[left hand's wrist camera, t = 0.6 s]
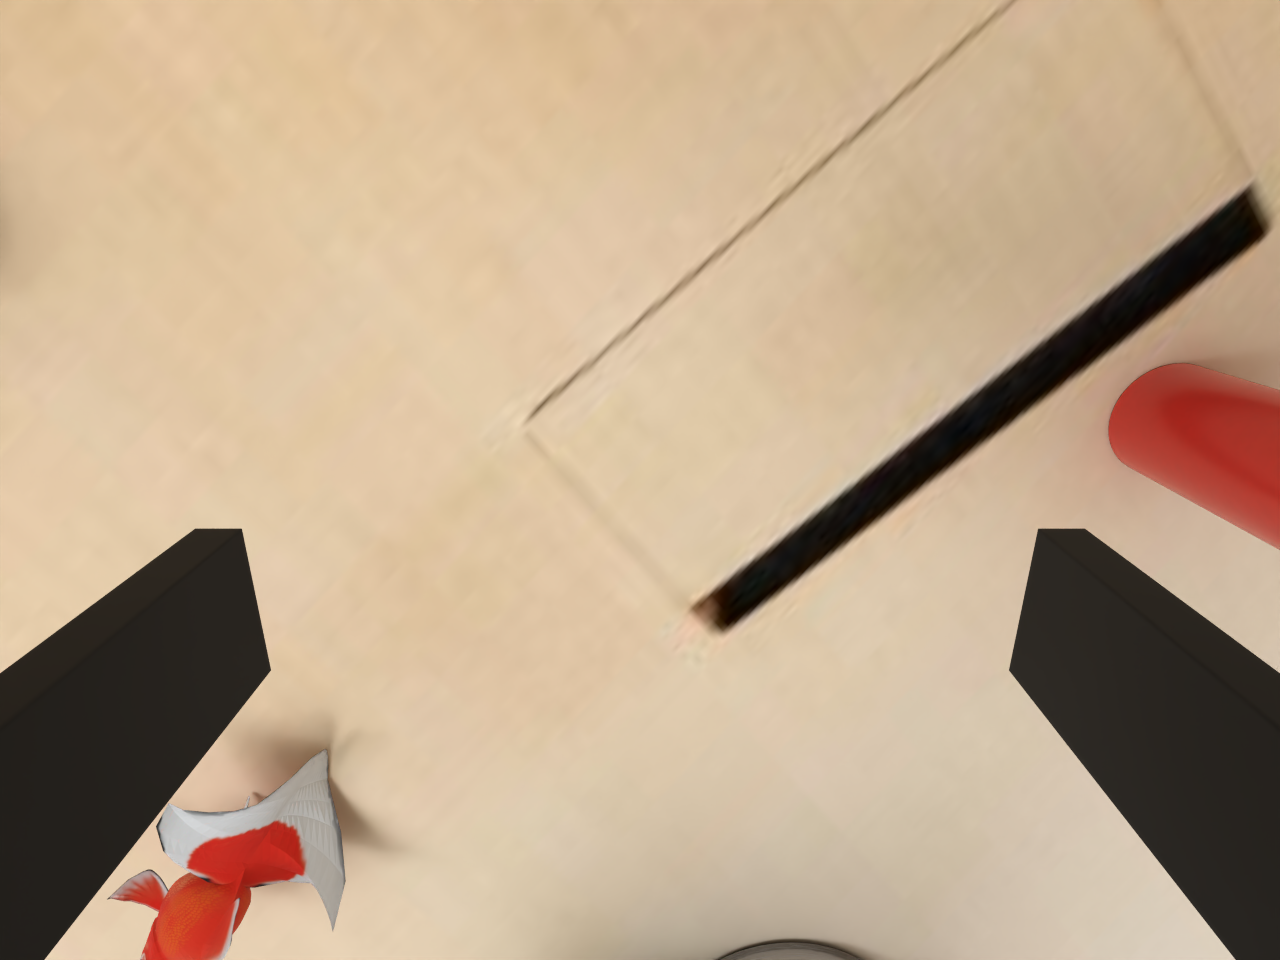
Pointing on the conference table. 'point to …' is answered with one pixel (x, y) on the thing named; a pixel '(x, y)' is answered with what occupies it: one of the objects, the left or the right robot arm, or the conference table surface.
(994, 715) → the conference table surface
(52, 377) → the conference table surface
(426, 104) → the conference table surface
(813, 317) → the conference table surface
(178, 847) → the fish
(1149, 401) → the can
